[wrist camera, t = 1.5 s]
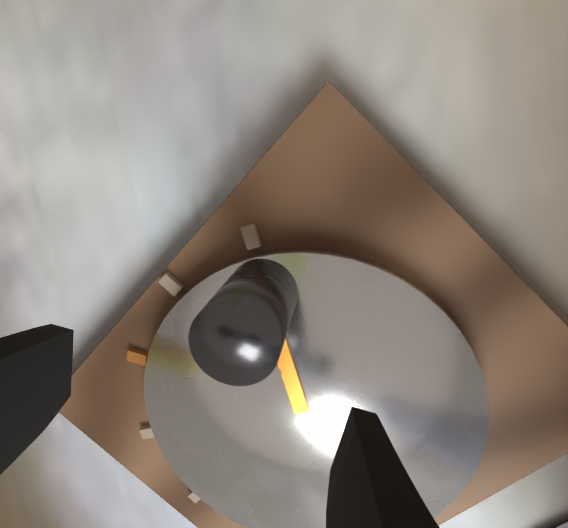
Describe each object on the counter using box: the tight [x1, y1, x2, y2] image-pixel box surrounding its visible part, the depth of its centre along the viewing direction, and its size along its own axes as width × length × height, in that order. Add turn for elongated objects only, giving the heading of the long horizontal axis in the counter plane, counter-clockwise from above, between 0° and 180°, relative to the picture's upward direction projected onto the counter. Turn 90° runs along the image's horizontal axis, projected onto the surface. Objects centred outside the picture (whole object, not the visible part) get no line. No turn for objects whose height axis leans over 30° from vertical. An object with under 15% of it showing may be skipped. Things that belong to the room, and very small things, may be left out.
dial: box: [144, 249, 490, 528], centre depth 17 cm, size 16×16×5 cm
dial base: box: [59, 82, 568, 528], centre depth 20 cm, size 19×22×2 cm
